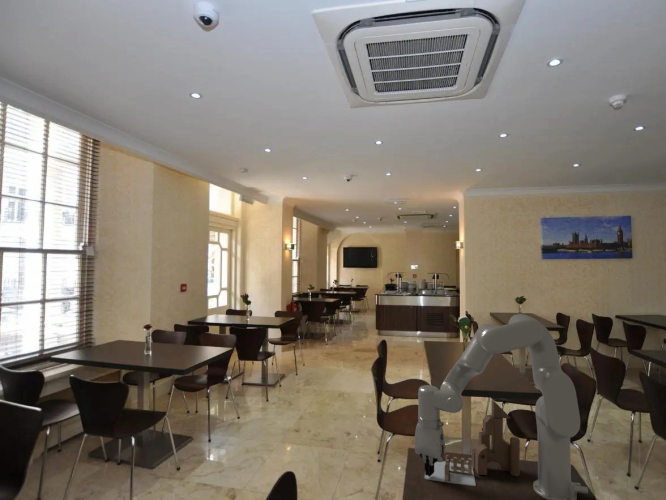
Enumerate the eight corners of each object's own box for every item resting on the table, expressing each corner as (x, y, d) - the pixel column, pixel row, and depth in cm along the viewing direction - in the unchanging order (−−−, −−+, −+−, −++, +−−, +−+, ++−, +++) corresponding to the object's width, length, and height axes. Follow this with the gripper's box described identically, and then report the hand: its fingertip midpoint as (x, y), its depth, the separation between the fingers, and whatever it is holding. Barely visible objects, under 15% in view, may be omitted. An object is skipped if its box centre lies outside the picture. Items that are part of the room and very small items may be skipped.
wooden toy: (477, 475, 139) (478, 404, 140) (471, 465, 145) (472, 398, 146) (521, 477, 138) (521, 406, 139) (513, 467, 145) (513, 399, 146)
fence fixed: (471, 474, 140) (471, 458, 140) (471, 476, 139) (471, 459, 139) (450, 471, 142) (450, 455, 142) (450, 473, 141) (450, 457, 141)
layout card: (472, 465, 146) (472, 464, 146) (475, 486, 132) (475, 485, 132) (425, 459, 150) (425, 458, 150) (424, 479, 137) (424, 478, 137)
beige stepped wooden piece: (445, 469, 142) (445, 454, 142) (449, 469, 142) (449, 455, 142) (444, 482, 134) (444, 467, 134) (448, 483, 133) (448, 467, 133)
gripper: (453, 424, 136) (454, 477, 135) (415, 413, 146) (415, 463, 145) (444, 431, 130) (445, 486, 130) (405, 419, 140) (405, 471, 139)
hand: (429, 474), depth 137 cm, fingers closed
